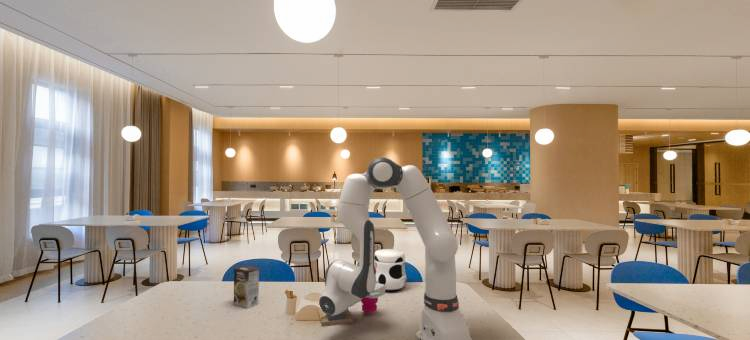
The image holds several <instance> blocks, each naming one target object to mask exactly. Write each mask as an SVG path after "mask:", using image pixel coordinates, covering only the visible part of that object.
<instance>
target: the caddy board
mask: <svg viewBox="0 0 750 340" xmlns="http://www.w3.org/2000/svg"><path fill="white" fill-rule="evenodd" d="M319 321H320V324H321V327H325V326H326V327H327V326H328V327H329V326H336V325H344V324H345V325H346V324H352V323H354V318H353V316H352V314H351V312H350V310H349V308H348V309H347V310H345V311H343V312H342V313H340V314H337V315H333V316H331V315H328V314H326V315H325V316H324V317H321V319H320V318H319Z"/></svg>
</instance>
